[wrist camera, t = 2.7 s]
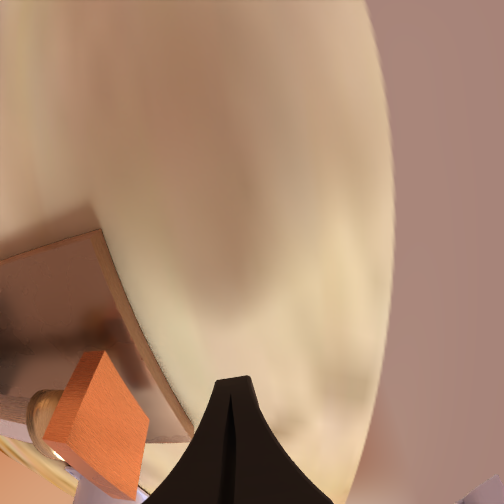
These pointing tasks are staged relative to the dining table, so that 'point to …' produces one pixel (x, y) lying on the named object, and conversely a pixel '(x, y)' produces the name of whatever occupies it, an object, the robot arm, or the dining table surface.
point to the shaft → (85, 425)
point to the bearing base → (78, 329)
